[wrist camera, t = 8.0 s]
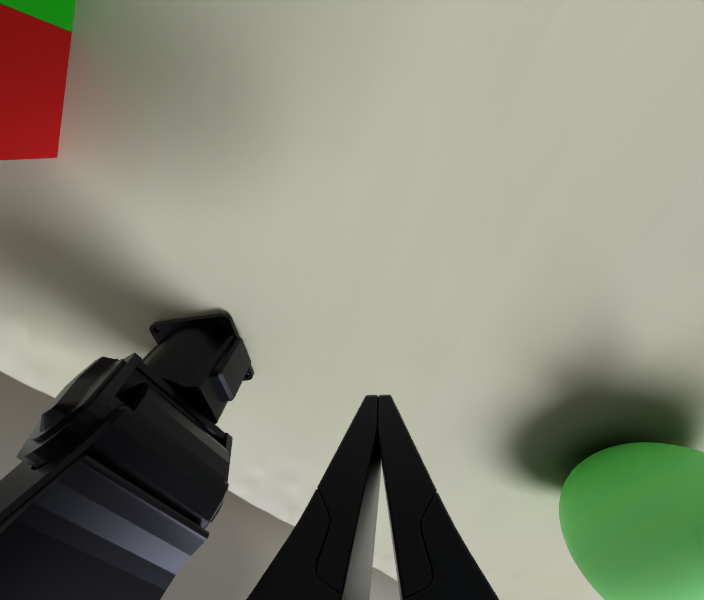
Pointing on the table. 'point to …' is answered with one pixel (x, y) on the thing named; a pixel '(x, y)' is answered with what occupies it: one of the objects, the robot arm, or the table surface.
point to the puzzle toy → (33, 75)
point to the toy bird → (638, 521)
